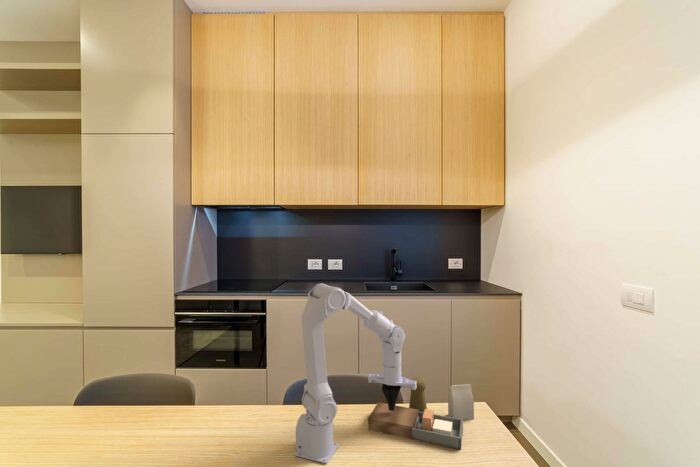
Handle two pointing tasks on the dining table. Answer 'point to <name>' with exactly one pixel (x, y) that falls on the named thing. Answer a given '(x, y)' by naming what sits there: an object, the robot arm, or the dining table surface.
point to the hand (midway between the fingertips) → (392, 409)
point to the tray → (439, 438)
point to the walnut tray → (393, 420)
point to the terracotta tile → (428, 420)
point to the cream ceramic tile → (443, 427)
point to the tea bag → (461, 402)
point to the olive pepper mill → (418, 395)
